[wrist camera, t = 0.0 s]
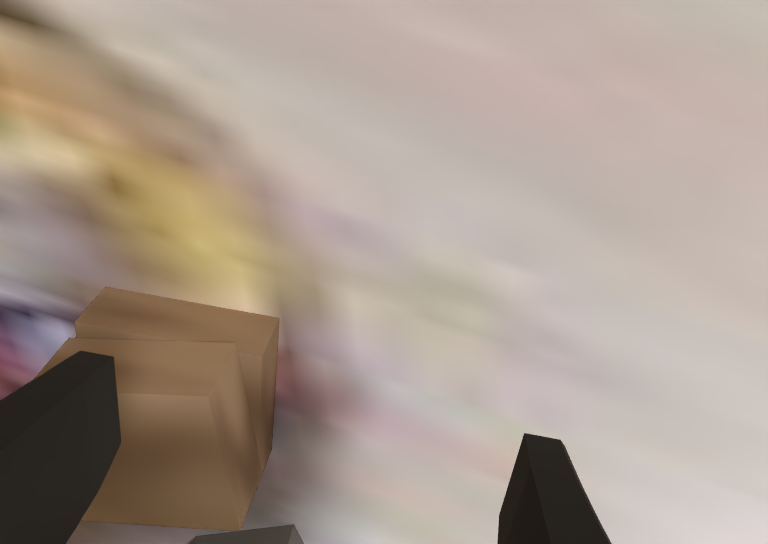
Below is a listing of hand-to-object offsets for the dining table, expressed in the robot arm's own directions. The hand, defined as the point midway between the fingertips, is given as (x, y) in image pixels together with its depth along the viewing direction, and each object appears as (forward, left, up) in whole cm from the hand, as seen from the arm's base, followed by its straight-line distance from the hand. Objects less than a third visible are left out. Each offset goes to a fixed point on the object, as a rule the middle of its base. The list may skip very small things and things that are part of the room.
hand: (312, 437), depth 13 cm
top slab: (-8, +6, -8) cm, 13 cm away
